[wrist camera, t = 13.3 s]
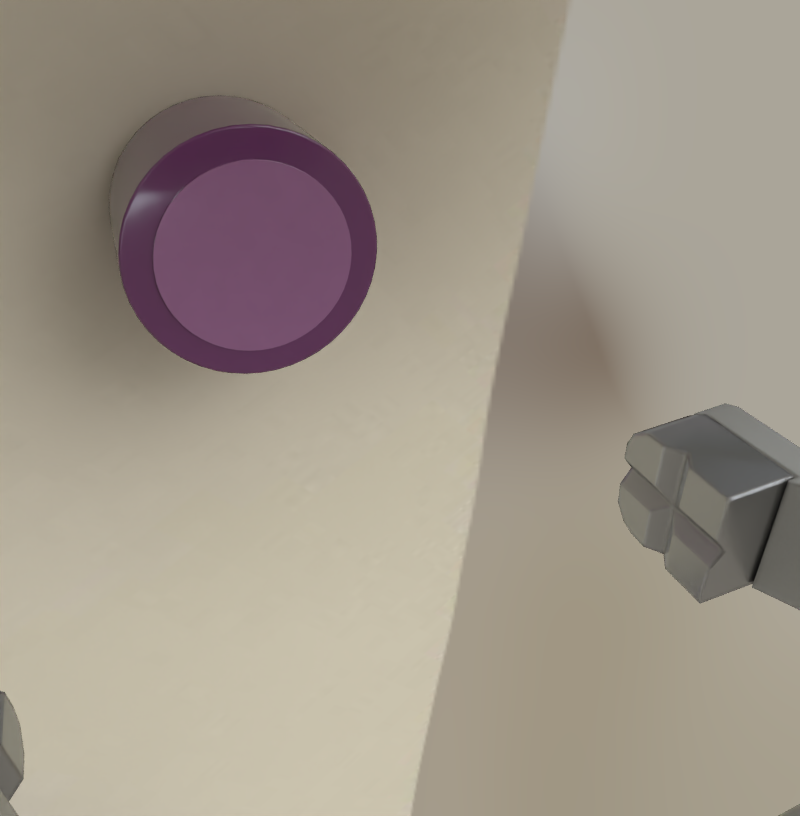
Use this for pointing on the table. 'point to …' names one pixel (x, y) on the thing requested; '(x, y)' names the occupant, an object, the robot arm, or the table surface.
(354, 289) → the dish
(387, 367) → the table surface
